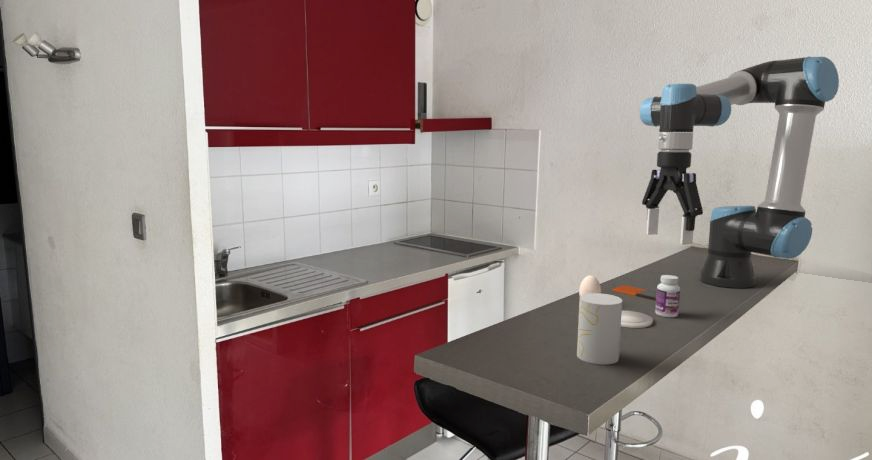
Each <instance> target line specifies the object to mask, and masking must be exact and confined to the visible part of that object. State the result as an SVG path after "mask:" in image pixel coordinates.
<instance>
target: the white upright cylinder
mask: <svg viewBox="0 0 872 460" xmlns="http://www.w3.org/2000/svg"><path fill="white" fill-rule="evenodd" d="M578 305H579V306H578V322H577V323H578V326H577V327H578V328H577V345H576V346H577V347H576V356H577V358H578V359H580V360H581V361H583V362H586V363H590V364H594V365H611V364H616V363H617V362H619V359H620V344H621V329H622V328H621V315H622V311H623V299H622V298H621V297H619V296H616V295H612V294H610V293H609V294H607V293H602V292H601V293H589V294H584V295H581V296H580V295H579V304H578Z"/></svg>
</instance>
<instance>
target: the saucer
mask: <svg viewBox="0 0 872 460" xmlns="http://www.w3.org/2000/svg"><path fill="white" fill-rule="evenodd" d="M653 324H654V319H653V317H652V316H650V315H648V314H646V313H642V312H639V311H633V310H622V315H621V327H623V328H627V329H628V328H629V329H644V328H647V327H651V326H652V325H653Z"/></svg>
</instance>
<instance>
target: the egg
mask: <svg viewBox="0 0 872 460" xmlns="http://www.w3.org/2000/svg"><path fill="white" fill-rule="evenodd" d="M589 293H601V294H602V287H601V284H600V281H599V279H598V278H597V277H595V276H594V275H587V276H585V277H584V278H583V279H582V281H581V282H580V285H579V290H578V294H579V297H580V296H581V295H584V294H589Z"/></svg>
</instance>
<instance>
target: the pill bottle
mask: <svg viewBox="0 0 872 460" xmlns="http://www.w3.org/2000/svg"><path fill="white" fill-rule="evenodd" d="M678 283H679V277H678V276H676V275H670V274H662V275H661V276H660V283H659V284H657V287H656V292H657V295H656V301H655V315H657V316H659V317H664V318H676V317H678V315H679V309H680V300H681V299H680V297H681V287H680V286H679V284H678Z"/></svg>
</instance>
